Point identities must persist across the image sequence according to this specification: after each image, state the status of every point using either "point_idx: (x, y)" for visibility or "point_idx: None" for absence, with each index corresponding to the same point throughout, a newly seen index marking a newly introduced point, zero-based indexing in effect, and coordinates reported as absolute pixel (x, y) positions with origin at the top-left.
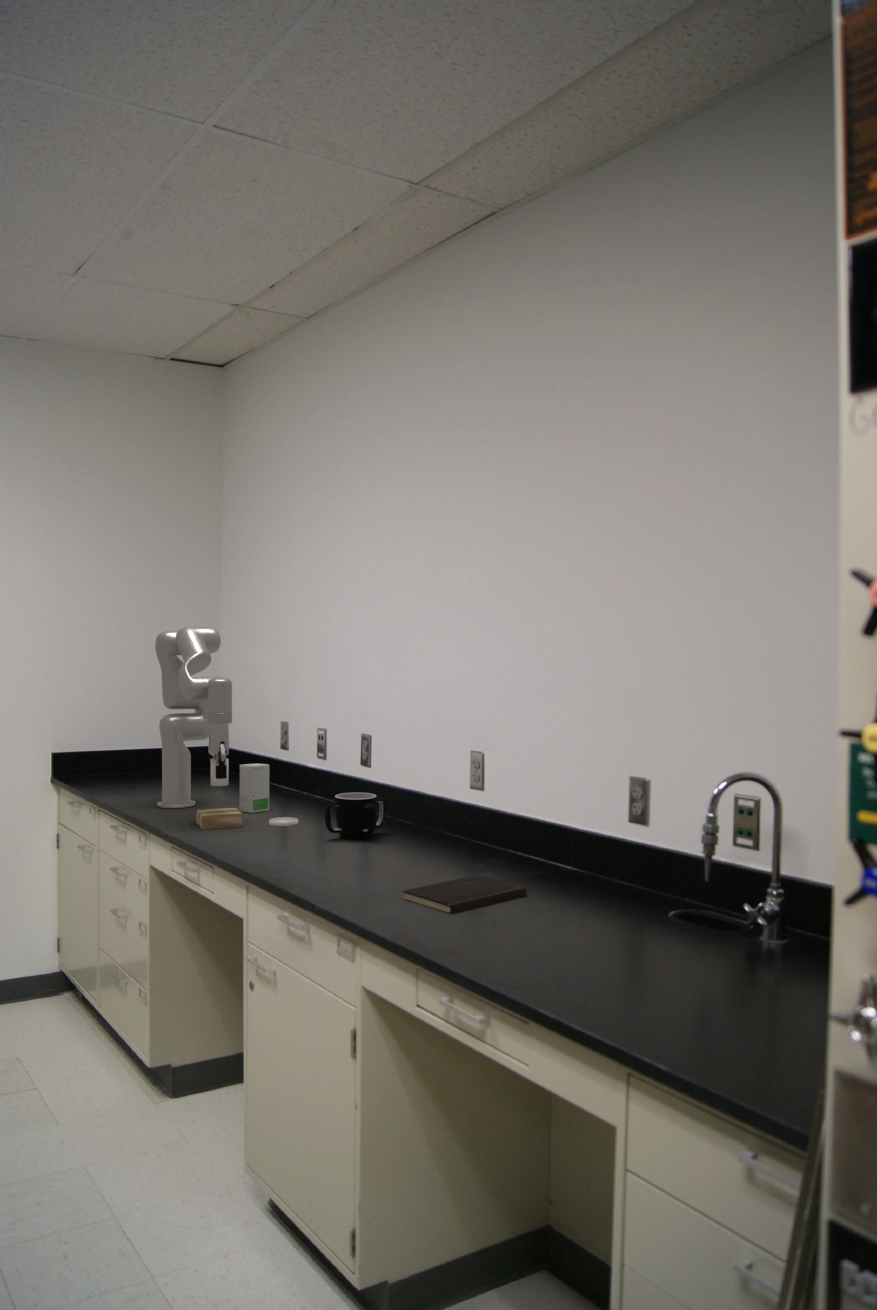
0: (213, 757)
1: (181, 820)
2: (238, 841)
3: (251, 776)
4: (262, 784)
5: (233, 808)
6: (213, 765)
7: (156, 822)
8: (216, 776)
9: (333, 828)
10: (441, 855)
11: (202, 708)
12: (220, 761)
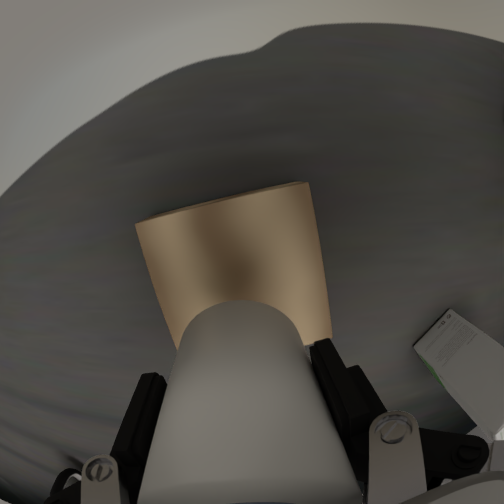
0: (385, 478)
1: (347, 125)
2: (16, 324)
3: (477, 410)
4: (465, 409)
5: (311, 334)
6: (160, 437)
7: (315, 45)
8: (141, 385)
9: (75, 476)
10: (42, 493)
11: None
12: (59, 496)
